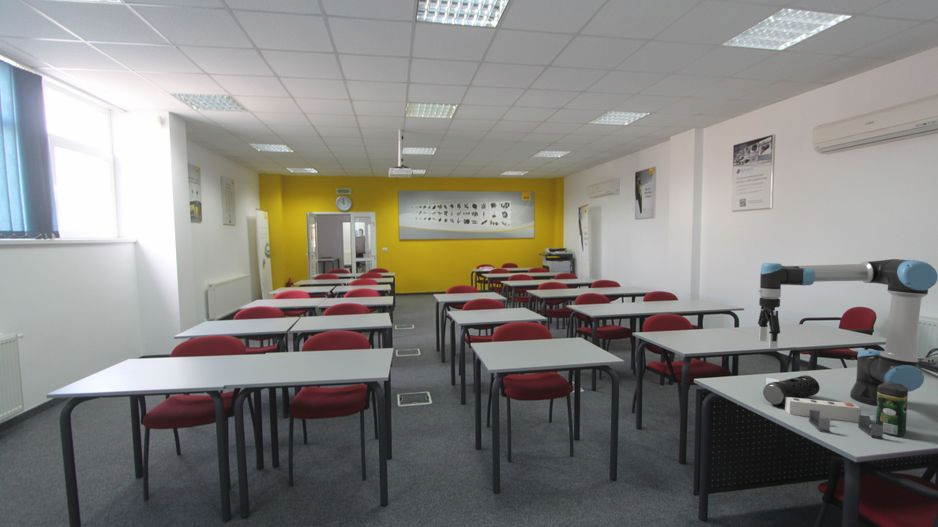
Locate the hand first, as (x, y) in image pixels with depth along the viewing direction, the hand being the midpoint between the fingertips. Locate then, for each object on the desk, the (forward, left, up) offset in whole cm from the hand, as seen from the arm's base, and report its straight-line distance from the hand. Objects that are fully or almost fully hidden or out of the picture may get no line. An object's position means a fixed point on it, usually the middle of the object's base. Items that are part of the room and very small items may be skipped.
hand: (767, 344), depth 189 cm
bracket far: (-10, +25, -26) cm, 37 cm away
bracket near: (-26, +25, -26) cm, 44 cm away
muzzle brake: (-10, -2, -26) cm, 28 cm away
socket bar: (-16, +12, -26) cm, 33 cm away
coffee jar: (-34, +21, -26) cm, 48 cm away
